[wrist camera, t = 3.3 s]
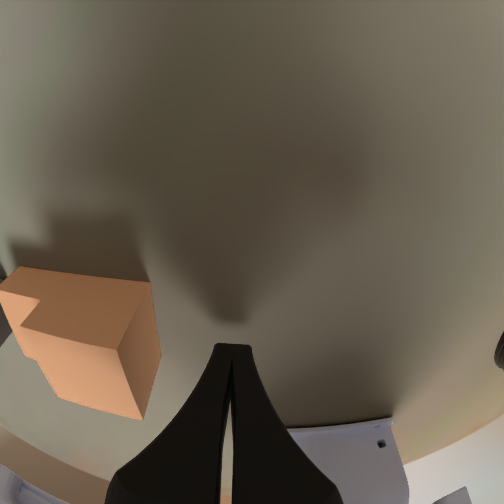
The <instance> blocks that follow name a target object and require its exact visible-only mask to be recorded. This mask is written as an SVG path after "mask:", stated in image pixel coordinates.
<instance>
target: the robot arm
mask: <svg viewBox="0 0 504 504" xmlns="http://www.w3.org/2000/svg"><path fill="white" fill-rule="evenodd" d="M230 398H231V417H232V433H233V477H232V504H408V502H409V486H408V481H407V478H406V474H405V471H404V468H403V464H402V461H401V458H400V455H399V451H398V448H397V445H396V442H395V439H394V436H393V433H392V430H391V426H392V425H393V423H394V420H393V418H385V419H380V420H374V421H368V422H361V423H354V424H345V425H336V426H326V427H313V428H294V429H286V428H285V426H284V425H283V423H282V421H281V420H280V418H279V416H278V415H277V413H276V411H275V409H274V408H273V406H272V404H271V402H270V400H269V398H268V396H267V393H266V391H265V389H264V387H263V384H262V382H261V379H260V377H259V374H258V371H257V368H256V365H255V362H254V358H253V354H252V347H251V346H250V345H242V344H226V343H217V344H215V345H214V349H213V352H212V355H211V357H210V360H209V362H208V364H207V366H206V368H205V370H204V372H203V374H202V376H201V378H200V380H199V381H198V383H197V385H196V387H195V388H194V390H193V391H192V393H191V394H190V396H189V398H188V399H187V401H186V402H185V404H184V405H183V406H182V408H181V409H180V410H179V412H178V413H177V414H176V416H175V417H174V418H173V419H172V421H171V422H170V423H169V424H168V425H167V426H166V428H165V429H164V430H163V431H162V432H161V433H160V434H159V435H158V436H157V437H156V438H155V439H154V440H153V441H152V442H151V443H150V444H149V445H148V446H147V447H146V448H145V449H144V450H143V451H141V452H140V453H139V454H138V455H137V456H136V457H134V458H133V459H132V460H131V461H129V462H128V463H127V464H125V465H124V466H123V467H121V468H120V469H119V470H117V471H116V473H115V474H114V476H113V478H112V480H111V482H110V484H109V487H108V490H107V494H106V499H105V504H220V494H221V471H222V452H223V443H224V436H225V430H226V424H227V417H228V411H229V405H230ZM0 504H69V503H67V502H65V501H63V500H60V499H58V498H56V497H54V496H52V495H50V494H48V493H46V492H44V491H42V490H41V489H39V488H37V487H35V486H33V485H31V484H29V483H28V482H26V481H24V480H23V479H22V478H21V477H19V476H18V475H17V474H15V473H14V472H12V471H11V470H9V469H8V468H6V467H5V466H3V465H1V464H0ZM433 504H472V503H471V500H470V497H469V494H468V491H467V488H466V487H463V488H461V489H459V490H457V491H455V492H453V493H451V494H449V495H447V496H445V497H443V498H441V499H439V500H437V501H435V502H434V503H433Z"/></svg>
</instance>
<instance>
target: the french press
mask: <svg viewBox="0 0 504 504" xmlns="http://www.w3.org/2000/svg"><path fill="white" fill-rule="evenodd" d="M494 358H495V363H496V365H497V366H498V367H499V368H502V369H503V370H504V333H503V335H502V337H501V339H500V341H499V343H498V346H497V349H496V352H495V357H494Z"/></svg>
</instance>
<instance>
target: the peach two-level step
mask: <svg viewBox="0 0 504 504" xmlns="http://www.w3.org/2000/svg"><path fill="white" fill-rule="evenodd" d="M0 303H1V305H2V308H3V310H4V313H5V315H6V317H7V320H8V322H9V324H10V326H11V328H12V331H13V333H14V335H15V337H16V339H17V341H18V343H19V345H20V347H21V349H22V351H23V352H24V354H25V356H26V357H29V358H32V359H35V360H37V362H38V364H39V366H40V368H41V369H42V371H43V373H44V375H45V376H46V378H47V380H48V381H49V383H50V385H51V386H52V388H53V389H54V391H55V393H56V394H57V396H58V397H59V398H62V399H65V400H68V401H71V402H74V403H77V404H80V405H84V406H87V407H90V408H94V409H97V410H101V411H105V412H109V413H113V414H117V415H121V416H125V417H130V418H134V419H139V420H143V419H144V415H145V411H146V408H147V404H148V400H149V397H150V393H151V390H152V386H153V383H154V379H155V376H156V372H157V369H158V366H159V362H160V359H161V356H162V355H161V350H160V344H159V339H158V333H157V327H156V321H155V314H154V307H153V300H152V293H151V285H150V282H141V281H131V280H122V279H113V278H104V277H95V276H87V275H79V274H71V273H64V272H56V271H49V270H42V269H35V268H28V267H22V266H19V267H18V268H17V269H16V270H15V271H14V272H13V273H12V274H11V275H9V276H8V277H7V278H6V279H5V280H4V281H3V282H2V283H1V284H0Z"/></svg>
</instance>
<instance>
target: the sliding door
mask: <svg viewBox="0 0 504 504" xmlns="http://www.w3.org/2000/svg"><path fill="white" fill-rule="evenodd" d="M3 281H4V280H2V279H0V284H1V283H2V282H3ZM11 332H12V328H11V326H10V324H9V322H8V320H7V317H6V315H5V313H4V310H3V308H2V305H1V303H0V347H1V345H2V344H3V343H4V341H5V340H6V339H7V338H8V336H9V335H10V334H11Z"/></svg>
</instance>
